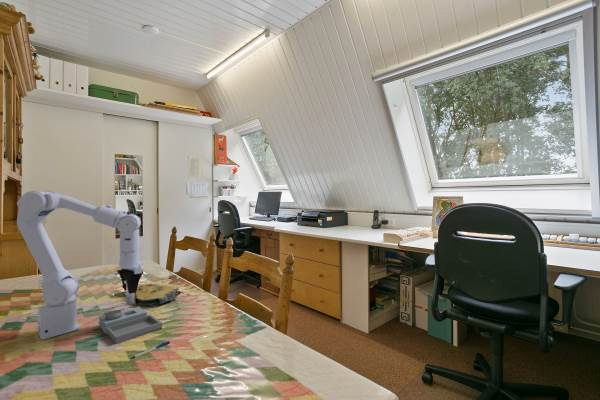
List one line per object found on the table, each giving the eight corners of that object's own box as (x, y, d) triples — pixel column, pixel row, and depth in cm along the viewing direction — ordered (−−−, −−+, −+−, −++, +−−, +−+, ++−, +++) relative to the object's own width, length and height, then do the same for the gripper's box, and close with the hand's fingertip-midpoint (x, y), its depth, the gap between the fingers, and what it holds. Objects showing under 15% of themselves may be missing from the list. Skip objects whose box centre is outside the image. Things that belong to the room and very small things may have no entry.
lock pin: (126, 306, 96) (126, 282, 96) (122, 303, 99) (122, 280, 99) (138, 302, 99) (138, 279, 99) (134, 300, 101) (134, 277, 101)
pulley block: (142, 273, 135) (185, 284, 120) (144, 285, 136) (187, 298, 121) (109, 286, 124) (152, 300, 108) (112, 299, 125) (154, 315, 109)
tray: (115, 343, 85) (115, 337, 85) (106, 333, 91) (106, 327, 91) (161, 328, 95) (161, 322, 95) (150, 320, 101) (150, 314, 101)
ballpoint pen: (168, 343, 86) (168, 339, 86) (170, 344, 86) (170, 340, 86) (130, 359, 78) (130, 355, 78) (132, 360, 77) (132, 356, 77)
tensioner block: (105, 333, 91) (105, 318, 91) (99, 326, 96) (99, 312, 96) (146, 320, 100) (146, 307, 100) (138, 315, 105) (138, 302, 105)
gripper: (151, 252, 97) (151, 293, 97) (134, 246, 106) (135, 284, 107) (127, 255, 91) (128, 299, 92) (112, 249, 101) (112, 288, 101)
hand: (130, 291), depth 99 cm, fingers closed on lock pin, 3 cm apart
